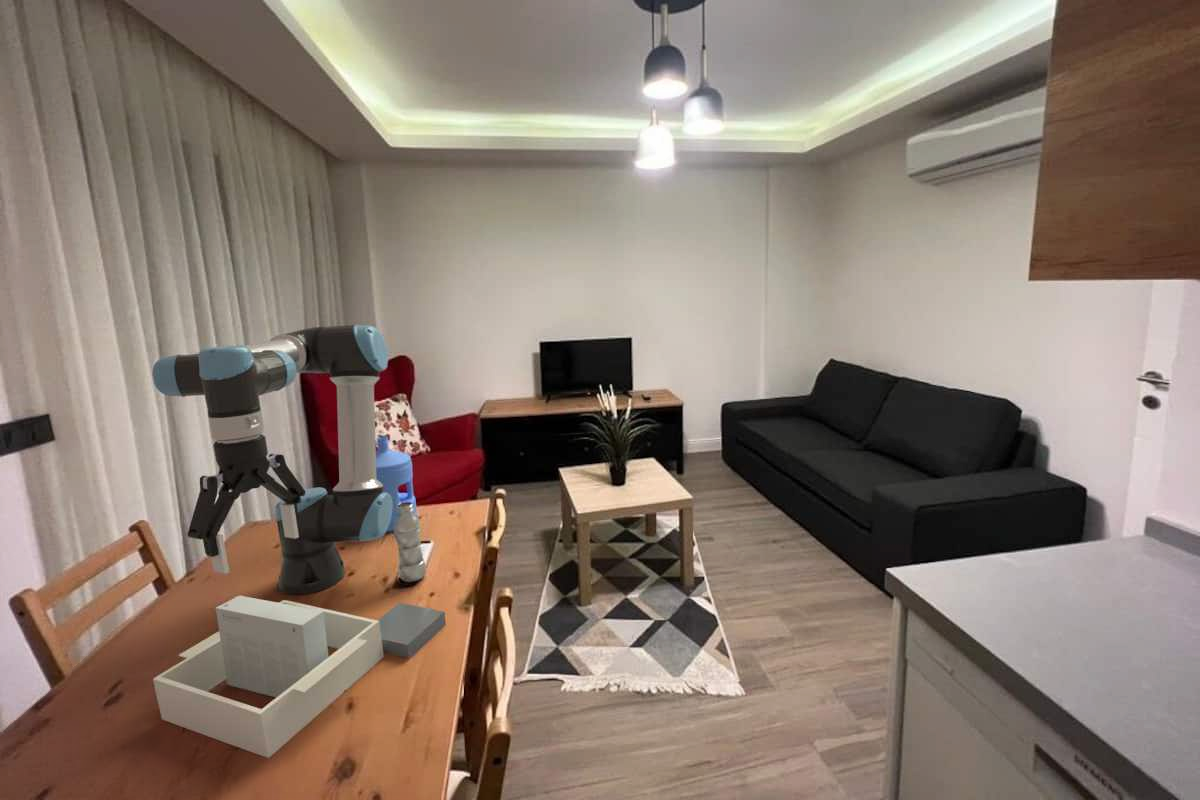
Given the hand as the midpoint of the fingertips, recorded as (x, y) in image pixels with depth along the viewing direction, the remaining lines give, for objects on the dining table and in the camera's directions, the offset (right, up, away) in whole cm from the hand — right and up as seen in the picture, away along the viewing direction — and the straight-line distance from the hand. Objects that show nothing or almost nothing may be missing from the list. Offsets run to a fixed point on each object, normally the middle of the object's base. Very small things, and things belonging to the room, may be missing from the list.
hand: (259, 553), depth 98 cm
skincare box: (+1, -26, +5) cm, 27 cm away
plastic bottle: (+13, -18, +43) cm, 48 cm away
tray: (+1, -26, +5) cm, 27 cm away
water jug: (-6, -12, +78) cm, 79 cm away
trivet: (+19, -23, +19) cm, 35 cm away
